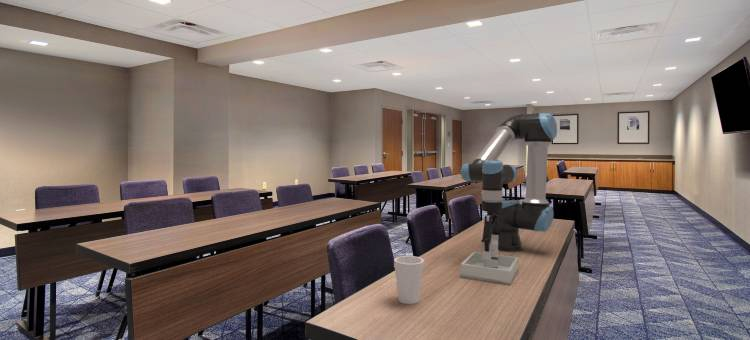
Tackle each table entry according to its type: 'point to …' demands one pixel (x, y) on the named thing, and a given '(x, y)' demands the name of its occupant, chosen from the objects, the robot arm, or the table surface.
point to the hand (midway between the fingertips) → (490, 255)
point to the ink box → (493, 255)
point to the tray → (490, 269)
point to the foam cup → (408, 278)
